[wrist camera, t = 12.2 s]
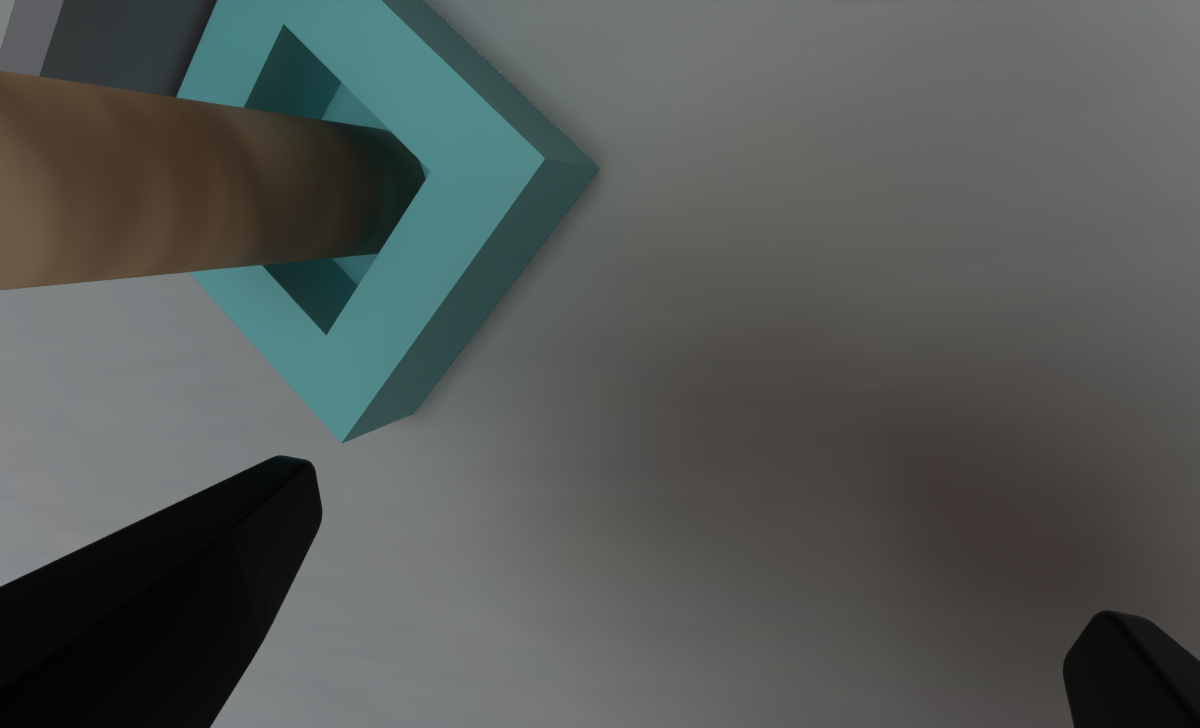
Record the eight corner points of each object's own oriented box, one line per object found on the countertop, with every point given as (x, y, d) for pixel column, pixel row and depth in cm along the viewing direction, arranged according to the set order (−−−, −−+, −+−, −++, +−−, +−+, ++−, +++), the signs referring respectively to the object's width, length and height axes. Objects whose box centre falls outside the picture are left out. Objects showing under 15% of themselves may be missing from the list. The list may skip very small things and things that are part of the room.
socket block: (605, 169, 20) (545, 158, 17) (420, 410, 25) (341, 443, 21) (367, -57, 22) (265, -112, 18) (234, 208, 26) (129, 206, 23)
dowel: (438, 242, 22) (-39, 282, 10) (344, 262, 23) (-157, 314, 12) (411, 114, 21) (-126, 10, 10) (316, 143, 23) (-239, 83, 11)
